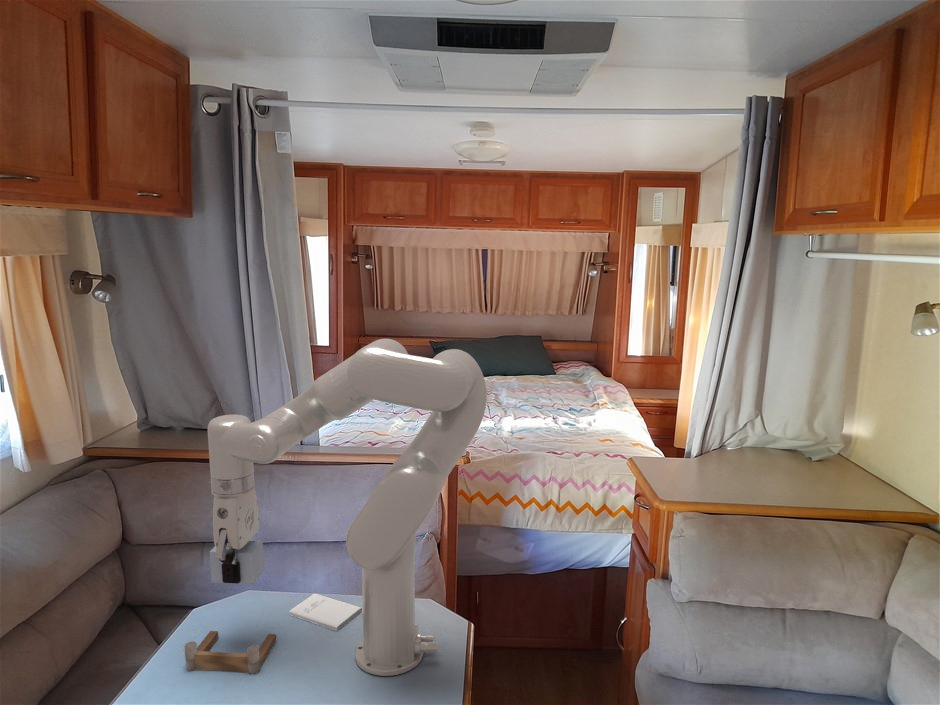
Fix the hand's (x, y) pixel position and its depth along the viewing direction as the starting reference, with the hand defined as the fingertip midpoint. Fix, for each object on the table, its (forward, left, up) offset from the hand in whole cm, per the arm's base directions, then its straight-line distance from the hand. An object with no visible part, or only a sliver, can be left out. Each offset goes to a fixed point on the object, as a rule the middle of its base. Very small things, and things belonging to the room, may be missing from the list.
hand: (238, 573), depth 124 cm
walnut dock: (0, +4, -14) cm, 15 cm away
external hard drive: (-13, -11, -15) cm, 23 cm away
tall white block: (0, 0, -1) cm, 1 cm away
